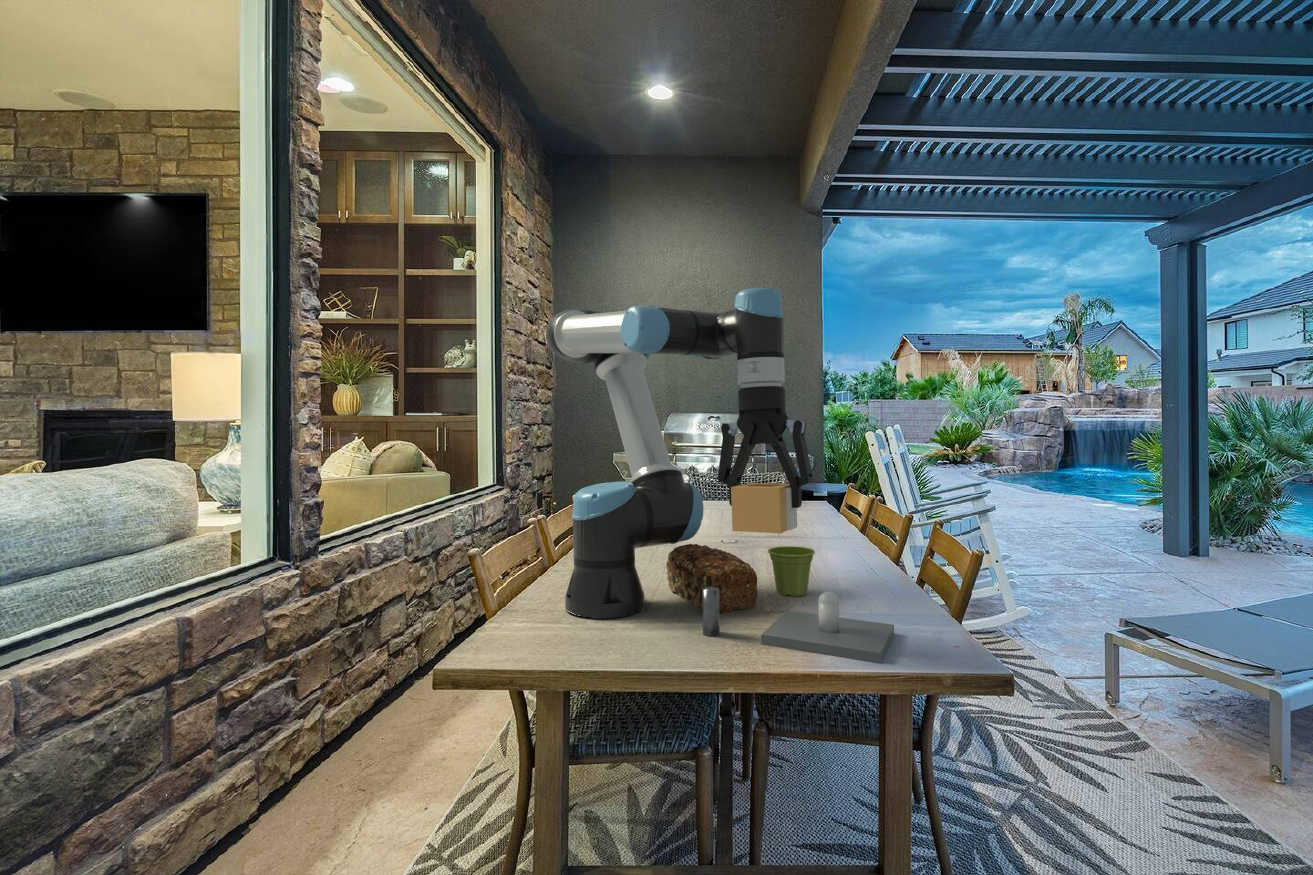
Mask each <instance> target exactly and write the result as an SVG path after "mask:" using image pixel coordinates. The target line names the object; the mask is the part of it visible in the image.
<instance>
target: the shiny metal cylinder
mask: <svg viewBox="0 0 1313 875" xmlns="http://www.w3.org/2000/svg"><path fill="white" fill-rule="evenodd" d="M702 606H703V607H702V635H703V636H706V637H718V636H719V635H721V634H720V633H721V631H720V630H721V629H720V628H721V626H720V625H721V624H720V620H721V619H720V613H721V612H719V588H718V587H704V588H702Z"/></svg>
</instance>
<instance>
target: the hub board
mask: <svg viewBox="0 0 1313 875" xmlns="http://www.w3.org/2000/svg"><path fill="white" fill-rule="evenodd" d="M894 635H895V624H891V623H884V622H876V621H869V620H862V619H854V618H846V617H841V616H840V599H839V597H838V595H837V594H836V593H835V592H832V591H824V592H822V593H821V594H820V596H819V597H818V614H816V613H810V612H804V611H803V612H801V611H794V610H786V611H785V612H784V613H782V614H781V615H780V616H779V617H778V618H777V619H776V620H775V621H774V622H772V624H770V626H769V627H768V628H766V629H765V630H764V631H763V632H762V633H761V635H760V636H761V639H760V640H761V641H760V642H761V645H766V646H771V647H779V648H785V649H790V650H796V651H797V650H798V651H801V652H803V651H804V652H808V653H810V652H811V653H815V654H816V653H817V654H821V655H828V656H834V657H840V658H844V659H845V658H846V659H853V660H859V661H865V662H871V663H876V664H881V663H882V661H883V659H884V657H885V655H886V652H887V650H888V649H889V646H890V645H891V644H890V643H891V642H892V639H893V637H894Z"/></svg>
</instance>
